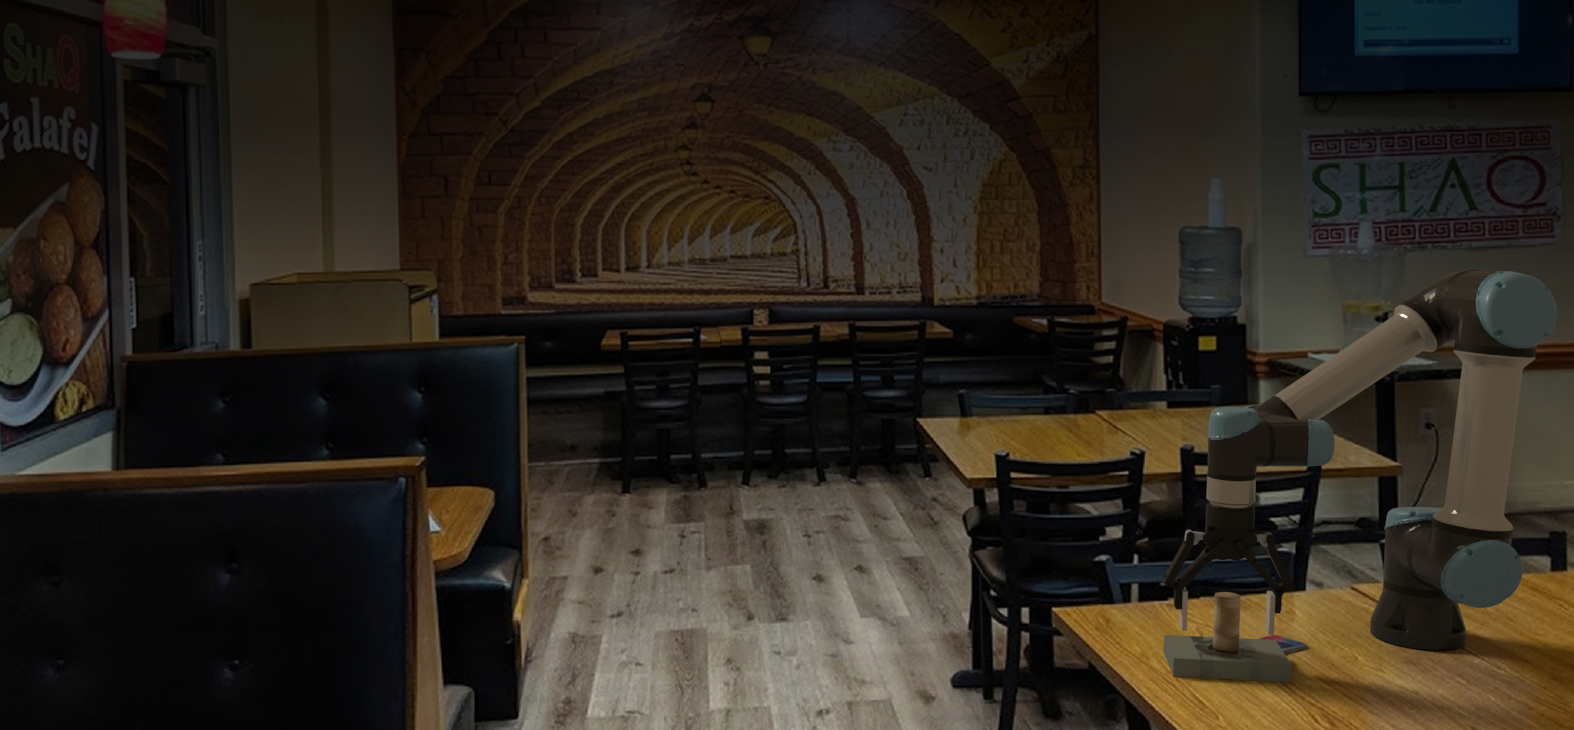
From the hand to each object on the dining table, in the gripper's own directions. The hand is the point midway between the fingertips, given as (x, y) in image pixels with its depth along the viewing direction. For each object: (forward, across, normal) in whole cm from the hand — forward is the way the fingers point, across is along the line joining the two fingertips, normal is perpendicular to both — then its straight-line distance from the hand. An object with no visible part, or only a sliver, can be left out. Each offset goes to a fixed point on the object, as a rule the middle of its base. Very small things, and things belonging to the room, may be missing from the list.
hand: (1226, 630), depth 208 cm
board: (+6, 0, 0) cm, 6 cm away
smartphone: (+7, -8, -10) cm, 14 cm away
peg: (+6, 0, 0) cm, 6 cm away
